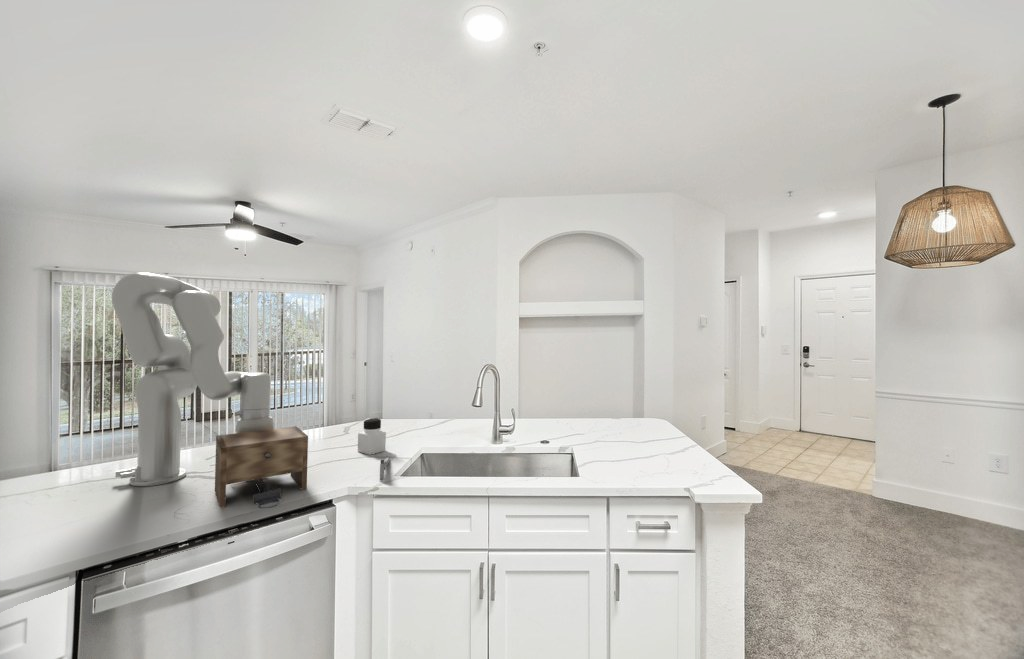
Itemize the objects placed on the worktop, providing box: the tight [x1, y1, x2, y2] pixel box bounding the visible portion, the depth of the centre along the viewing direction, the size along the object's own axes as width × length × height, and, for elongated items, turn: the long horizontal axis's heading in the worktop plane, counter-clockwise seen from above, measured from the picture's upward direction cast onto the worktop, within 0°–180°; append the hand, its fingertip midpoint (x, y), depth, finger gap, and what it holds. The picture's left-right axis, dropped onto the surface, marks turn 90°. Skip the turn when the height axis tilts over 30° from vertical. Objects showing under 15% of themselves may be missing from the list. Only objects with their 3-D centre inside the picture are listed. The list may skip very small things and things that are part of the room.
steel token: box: [258, 498, 280, 509], centre depth 106 cm, size 4×4×1 cm
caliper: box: [379, 457, 390, 481], centre depth 134 cm, size 20×1×6 cm, turn 11°
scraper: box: [252, 478, 281, 505], centre depth 118 cm, size 6×28×6 cm, turn 40°
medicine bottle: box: [357, 417, 387, 456], centre depth 153 cm, size 7×7×12 cm
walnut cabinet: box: [214, 426, 309, 508], centre depth 114 cm, size 20×15×15 cm
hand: (253, 473), depth 125 cm, fingers closed on scraper, 2 cm apart
